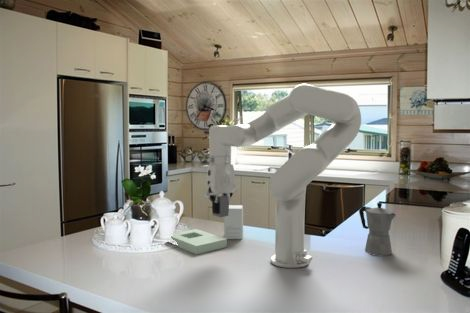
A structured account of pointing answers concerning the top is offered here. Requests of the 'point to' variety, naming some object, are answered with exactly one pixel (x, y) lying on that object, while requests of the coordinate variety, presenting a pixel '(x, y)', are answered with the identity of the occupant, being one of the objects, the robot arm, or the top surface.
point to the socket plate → (198, 241)
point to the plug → (222, 206)
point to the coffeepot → (377, 229)
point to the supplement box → (234, 222)
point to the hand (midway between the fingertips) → (220, 212)
